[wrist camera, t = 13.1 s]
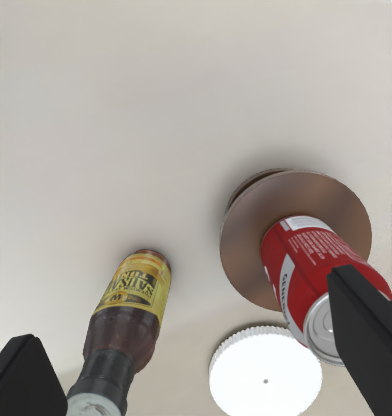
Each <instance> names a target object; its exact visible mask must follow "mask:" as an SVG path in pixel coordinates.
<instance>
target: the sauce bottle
mask: <svg viewBox="0 0 392 416" xmlns="http://www.w3.org/2000/svg"><path fill="white" fill-rule="evenodd" d="M170 284H171V268H170V265H169V263H168V262H167V260H166V259H165V258H164V257H163V256H162V255H161V254H159V253H157V252H154V251H150V250H139V251H136V252H134V253H133V254H131V255H129V256H128V257H127V258H125V259H124V261H123V262H122V263H121V264H120V266H119V268H118V270H117V271H116V273H115V275H114V277H113V279H112V280H111V282H110V284H109V286H108V288H107V289H106V291H105V293H104V295H103V297H102V299H101V300H100V302H99V304H98V306H97V307H96V309H95V312H94V313H93V315H92V317H91V319H90V323H89V327H88V331H87V336H86V340H85V344H84V349H83V356H84V360H85V362H84V365H83V369H82V371H81V373H80V376H79V378H78V380H77V382H76V383H75V384H74V385H73V386H72V387H71V388H70V390H69V392H68V394H67V396H66V398H67V401H68V411H67V414H66V416H125V414H126V411H127V400H126V398H127V394H128V391H129V388H130V384H131V383H132V381H133V378H134V375H135V374H136V373H138V372H140V371H141V370H142V369H143V368H144V367H145V366H146V365H147V363H148V362H149V361H150V359H151V357H152V355H153V352H154V350H155V344H156V340H157V338H158V336H159V332H160V328H161V324H162V319H163V314H164V310H165V306H166V301H167V297H168V293H169V288H170Z"/></svg>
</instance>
